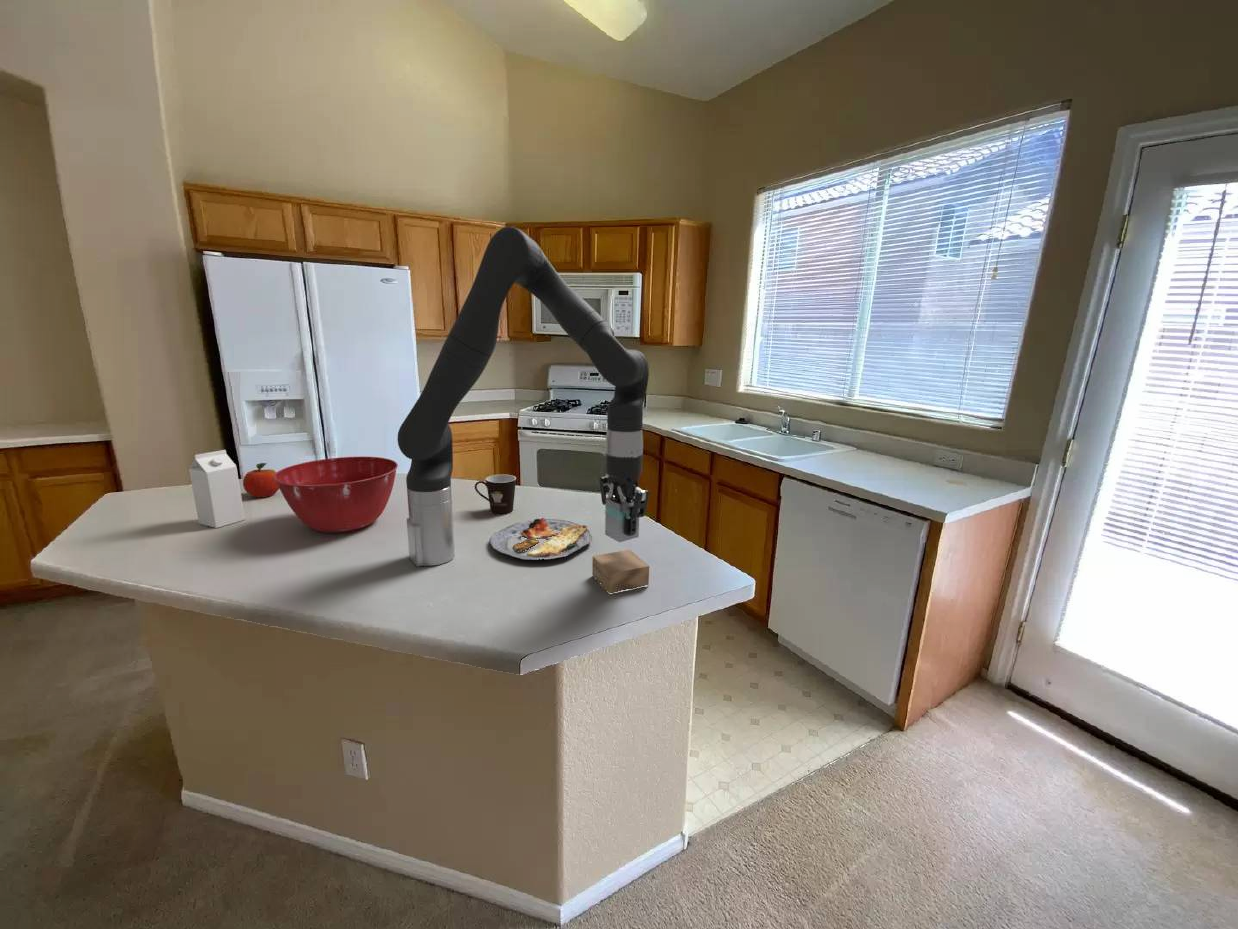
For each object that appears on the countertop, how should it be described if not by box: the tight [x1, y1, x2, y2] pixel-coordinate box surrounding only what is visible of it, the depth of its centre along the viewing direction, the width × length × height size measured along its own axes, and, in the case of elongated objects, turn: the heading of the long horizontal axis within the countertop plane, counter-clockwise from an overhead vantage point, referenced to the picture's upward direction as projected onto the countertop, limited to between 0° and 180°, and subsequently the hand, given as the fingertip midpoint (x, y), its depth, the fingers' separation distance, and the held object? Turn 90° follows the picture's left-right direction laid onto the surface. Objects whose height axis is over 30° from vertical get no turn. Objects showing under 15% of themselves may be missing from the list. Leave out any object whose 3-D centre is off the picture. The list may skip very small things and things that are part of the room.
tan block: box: [591, 549, 650, 593], centre depth 107 cm, size 9×9×5 cm
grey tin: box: [604, 497, 640, 543], centre depth 104 cm, size 5×5×8 cm
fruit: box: [242, 462, 280, 498], centre depth 154 cm, size 10×10×10 cm
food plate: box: [489, 517, 593, 561], centre depth 126 cm, size 25×23×4 cm
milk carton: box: [188, 449, 246, 529], centre depth 131 cm, size 7×7×19 cm
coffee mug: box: [474, 474, 517, 516], centre depth 148 cm, size 12×9×10 cm
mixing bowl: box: [273, 456, 399, 534], centre depth 133 cm, size 28×28×15 cm
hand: (621, 530), depth 105 cm, fingers closed on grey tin, 5 cm apart
